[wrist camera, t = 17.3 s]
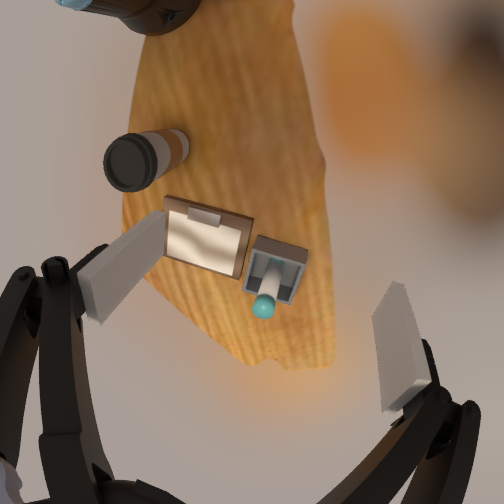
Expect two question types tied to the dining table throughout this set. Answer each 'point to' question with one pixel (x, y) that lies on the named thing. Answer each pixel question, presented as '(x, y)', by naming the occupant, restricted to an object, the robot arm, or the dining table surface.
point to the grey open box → (281, 251)
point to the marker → (268, 289)
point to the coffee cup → (143, 158)
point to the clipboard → (206, 236)
